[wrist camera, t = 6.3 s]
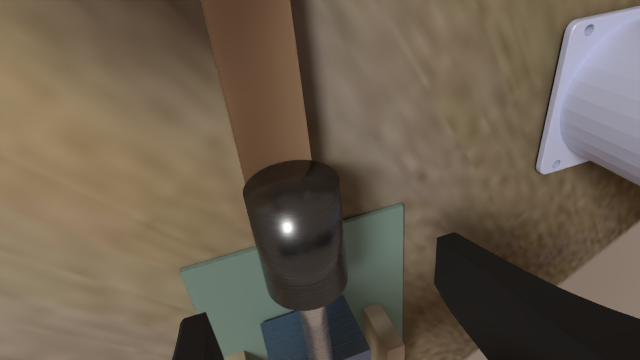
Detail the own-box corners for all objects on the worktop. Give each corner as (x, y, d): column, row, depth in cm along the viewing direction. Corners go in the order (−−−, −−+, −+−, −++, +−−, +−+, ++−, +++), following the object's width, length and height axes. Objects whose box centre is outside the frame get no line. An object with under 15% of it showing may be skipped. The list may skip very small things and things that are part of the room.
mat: (401, 203, 20) (403, 205, 20) (400, 365, 28) (402, 368, 28) (179, 268, 18) (180, 272, 18) (244, 427, 26) (245, 431, 25)
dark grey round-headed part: (212, 160, 15) (228, 232, 12) (325, 132, 16) (374, 190, 13) (263, 336, 21) (285, 422, 17) (344, 307, 22) (382, 383, 18)
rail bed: (267, -78, 13) (279, -80, 11) (308, 195, 18) (319, 215, 17) (183, -67, 12) (185, -68, 11) (251, 211, 18) (258, 232, 16)
